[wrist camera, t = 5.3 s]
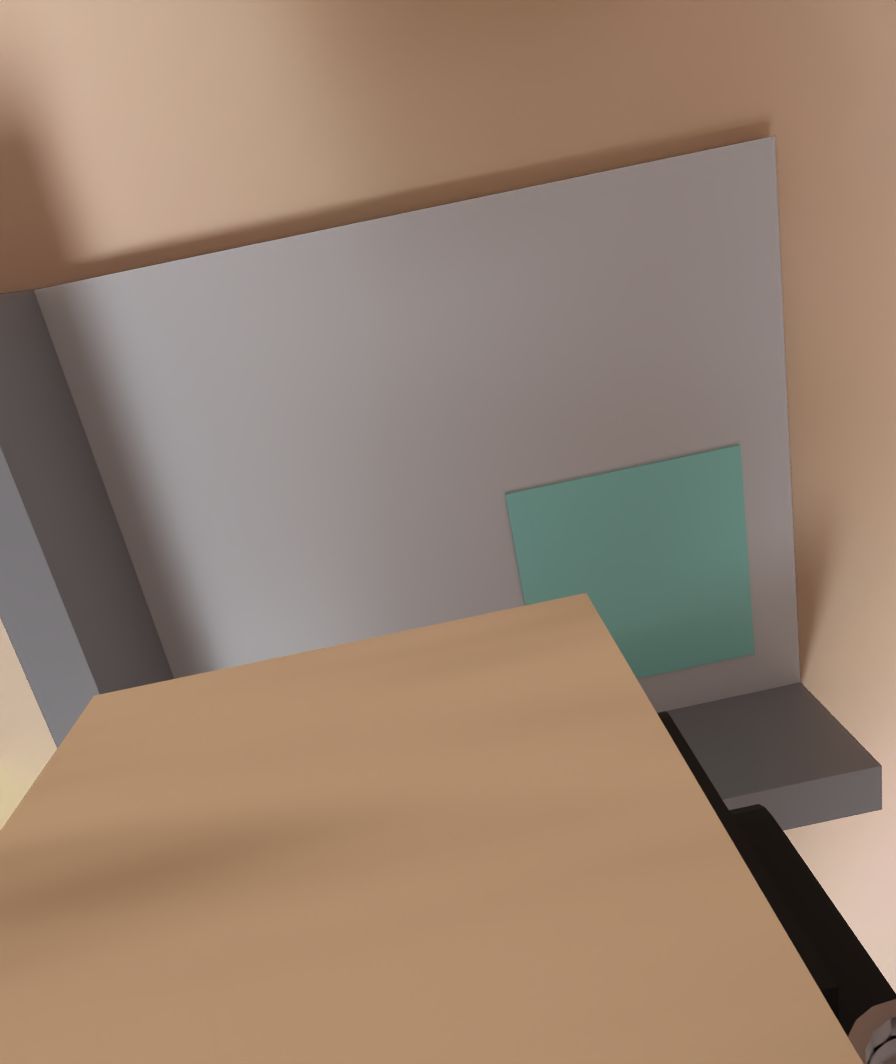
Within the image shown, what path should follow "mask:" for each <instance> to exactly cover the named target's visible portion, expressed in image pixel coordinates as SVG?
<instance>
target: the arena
mask: <svg viewBox="0 0 896 1064" xmlns="http://www.w3.org/2000/svg"><path fill="white" fill-rule="evenodd" d="M583 593H586V594H587V595H588V597H589V599H590V600H591V602H592V604H593V606H594V607H595V609H596V611H597V612H598V614H599V616H600V617H601V619H602V621H603V623H604V624H605V626H606V628H607V629H608V631H609V633H610V634H611V636H612V638H613V639H614V641H615V643H616V645H617V646H618V648H619V650H620V651H621V653H622V655H623V656H624V658H625V660H626V662H627V663H628V665H629V667H630V668H631V670H632V672H633V673H634V675H635V677H636V679H637V680H638V682H639V684H640V685H641V687H642V689H643V690H644V692H645V694H646V695H647V697H648V699H649V701H650V702H651V704H652V706H653V707H654V709H655V711H656V712H657V713H659V712H663V711H666V712H668V714H669V715H670V716H671V718H672V719H673V721H674V723H675V724H676V726H677V727H678V729H679V731H680V732H681V734H682V735H683V737H684V739H685V740H686V742H687V743H688V745H689V747H690V748H691V750H692V752H693V753H694V755H695V756H696V758H697V760H698V761H699V763H700V764H701V766H702V768H703V769H704V771H705V773H706V774H707V776H708V777H709V779H710V781H711V782H712V784H713V785H714V787H715V789H716V790H717V792H718V793H719V795H720V797H721V798H722V800H723V802H724V803H725V805H726V806H727V808H728V810H732V809H737V808H742V807H746V806H751V805H756V804H760V805H762V806H764V807H765V808H766V809H767V810H768V811H769V812H770V814H771V815H772V816H773V817H774V819H775V820H776V822H777V823H778V824H779V826H780V827H781V829H782V830H787V829H792V828H797V827H801V826H806V825H811V824H815V823H820V822H825V821H830V820H834V819H839V818H844V817H848V816H853V815H858V814H862V813H867V812H872V811H876V810H881V809H882V766H881V765H880V764H879V763H878V762H877V761H876V759H875V758H874V757H873V756H872V755H871V754H870V753H869V752H868V751H867V750H866V749H865V748H864V747H863V746H862V745H861V744H860V743H859V742H858V741H857V740H856V739H855V738H854V737H853V736H852V735H851V734H850V733H849V732H848V731H847V730H846V729H845V728H844V727H843V726H842V725H841V724H840V722H839V721H838V720H837V719H836V718H835V717H834V716H833V715H832V714H831V713H830V712H829V711H828V710H827V709H826V708H825V707H824V706H823V705H822V704H821V703H820V702H819V701H818V700H817V699H816V698H815V697H814V696H813V695H812V694H811V693H810V692H809V691H808V690H807V689H806V688H805V687H804V685H803V684H802V683H801V682H800V661H799V640H798V618H797V597H796V575H795V554H794V533H793V511H792V490H791V469H790V447H789V426H788V405H787V383H786V362H785V341H784V319H783V298H782V277H781V255H780V234H779V213H778V191H777V170H776V149H775V136H771V137H766V138H762V139H757V140H752V141H747V142H742V143H738V144H733V145H728V146H723V147H718V148H714V149H709V150H704V151H699V152H694V153H690V154H685V155H680V156H675V157H670V158H666V159H661V160H656V161H651V162H646V163H642V164H637V165H632V166H627V167H622V168H617V169H613V170H608V171H603V172H598V173H593V174H589V175H584V176H579V177H574V178H569V179H565V180H560V181H555V182H550V183H545V184H541V185H536V186H531V187H526V188H521V189H517V190H512V191H507V192H502V193H497V194H493V195H488V196H483V197H478V198H473V199H469V200H464V201H459V202H454V203H449V204H445V205H440V206H435V207H430V208H425V209H421V210H416V211H411V212H406V213H401V214H397V215H392V216H387V217H382V218H377V219H373V220H368V221H363V222H358V223H353V224H349V225H344V226H339V227H334V228H329V229H325V230H320V231H315V232H310V233H305V234H300V235H296V236H291V237H286V238H281V239H276V240H272V241H267V242H262V243H257V244H252V245H248V246H243V247H238V248H233V249H228V250H224V251H219V252H214V253H209V254H204V255H200V256H195V257H190V258H185V259H180V260H176V261H171V262H166V263H161V264H156V265H152V266H147V267H142V268H137V269H132V270H128V271H123V272H118V273H113V274H108V275H104V276H99V277H94V278H89V279H84V280H80V281H75V282H70V283H65V284H60V285H56V286H51V287H46V288H41V289H36V290H29V291H19V292H9V293H0V618H1V620H2V622H3V625H4V627H5V629H6V631H7V634H8V636H9V638H10V641H11V643H12V645H13V648H14V650H15V652H16V654H17V657H18V659H19V661H20V664H21V666H22V668H23V671H24V673H25V675H26V677H27V680H28V682H29V684H30V687H31V689H32V691H33V694H34V696H35V698H36V700H37V703H38V705H39V707H40V710H41V712H42V714H43V716H44V719H45V721H46V723H47V726H48V728H49V730H50V733H51V735H52V737H53V739H54V742H55V744H56V746H57V749H58V747H59V746H60V744H61V743H62V741H63V740H64V738H65V737H66V736H67V734H68V733H69V731H70V730H71V728H72V727H73V725H74V724H75V723H76V721H77V720H78V718H79V717H80V715H81V714H82V712H83V711H84V710H85V708H86V707H87V705H88V704H89V702H90V701H91V699H92V698H93V696H95V695H100V694H105V693H109V692H114V691H119V690H124V689H129V688H133V687H138V686H143V685H148V684H153V683H157V682H162V681H167V680H172V679H176V678H181V677H186V676H191V675H196V674H200V673H205V672H210V671H215V670H220V669H224V668H229V667H234V666H239V665H243V664H248V663H253V662H258V661H263V660H267V659H272V658H277V657H282V656H287V655H291V654H296V653H301V652H306V651H310V650H315V649H320V648H325V647H330V646H334V645H339V644H344V643H349V642H354V641H358V640H363V639H368V638H373V637H378V636H382V635H387V634H392V633H397V632H401V631H406V630H411V629H416V628H421V627H425V626H430V625H435V624H440V623H445V622H449V621H454V620H459V619H464V618H468V617H473V616H478V615H483V614H488V613H492V612H497V611H502V610H507V609H512V608H516V607H521V606H526V605H531V604H535V603H540V602H545V601H550V600H555V599H559V598H564V597H569V596H574V595H579V594H583Z"/></svg>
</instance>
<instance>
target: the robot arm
mask: <svg viewBox="0 0 896 1064" xmlns="http://www.w3.org/2000/svg"><path fill="white" fill-rule="evenodd" d="M657 714H658V716H659V718H660V719H661V721H662V723H663V724H664V726H665V728H666V729H667V731H668V733H669V735H670V736H671V738H672V740H673V741H674V743H675V745H676V746H677V748H678V750H679V752H680V753H681V755H682V757H683V758H684V760H685V762H686V763H687V765H688V767H689V768H690V770H691V772H692V774H693V775H694V777H695V779H696V780H697V782H698V784H699V785H700V787H701V789H702V791H703V792H704V794H705V796H706V797H707V799H708V801H709V802H710V804H711V806H712V808H713V809H714V811H715V813H716V814H717V816H718V818H719V819H720V821H721V823H722V824H723V826H724V828H725V830H726V831H727V833H728V835H729V836H730V838H731V840H732V841H733V843H734V845H735V847H736V848H737V850H738V852H739V853H740V855H741V857H742V858H743V860H744V862H745V864H746V865H747V867H748V869H749V870H750V872H751V874H752V875H753V877H754V879H755V880H756V882H757V884H758V886H759V887H760V889H761V891H762V892H763V894H764V896H765V897H766V899H767V901H768V903H769V904H770V906H771V908H772V909H773V911H774V913H775V914H776V916H777V918H778V920H779V921H780V923H781V925H782V926H783V928H784V930H785V931H786V933H787V935H788V937H789V938H790V940H791V942H792V943H793V945H794V947H795V948H796V950H797V952H798V953H799V955H800V957H801V959H802V960H803V962H804V964H805V965H806V967H807V969H808V970H809V972H810V974H811V976H812V977H813V979H814V981H815V982H816V984H817V986H818V987H819V989H820V991H821V993H822V994H823V996H824V998H825V999H826V1001H827V1003H828V1004H829V1006H830V1008H831V1009H832V1011H833V1013H834V1015H835V1016H836V1018H837V1020H838V1021H839V1023H840V1025H841V1026H842V1028H843V1030H844V1032H845V1033H846V1035H847V1037H848V1038H849V1040H850V1042H851V1043H852V1045H853V1047H854V1049H855V1050H856V1052H857V1054H858V1055H859V1057H860V1059H861V1060H862V1062H863V1064H896V994H895V992H894V991H893V989H892V988H891V986H890V985H889V983H888V982H887V981H886V979H885V978H884V976H883V975H882V973H881V972H880V970H879V969H878V967H877V966H876V965H875V963H874V962H873V960H872V959H871V957H870V956H869V954H868V953H867V952H866V950H865V949H864V947H863V946H862V944H861V943H860V941H859V940H858V939H857V937H856V936H855V934H854V933H853V931H852V930H851V928H850V927H849V926H848V924H847V923H846V921H845V920H844V918H843V917H842V915H841V914H840V913H839V911H838V910H837V908H836V907H835V905H834V904H833V902H832V901H831V900H830V898H829V897H828V895H827V894H826V892H825V891H824V889H823V888H822V887H821V885H820V884H819V882H818V881H817V879H816V878H815V876H814V875H813V874H812V872H811V871H810V869H809V868H808V866H807V865H806V863H805V862H804V861H803V859H802V858H801V856H800V855H799V853H798V852H797V850H796V849H795V848H794V846H793V845H792V843H791V842H790V840H789V839H788V837H787V836H786V835H785V833H784V832H783V830H782V829H781V827H780V826H779V824H778V823H777V822H776V820H775V819H774V817H773V816H772V815H771V814H770V812H769V811H768V810H767V809H766V808H765V807H764V806H762V805H760V804H756V805H751V806H746V807H742V808H737V809H732V810H728V808H727V806H726V805H725V803H724V802H723V800H722V798H721V797H720V795H719V793H718V792H717V790H716V789H715V787H714V785H713V784H712V782H711V781H710V779H709V777H708V776H707V774H706V773H705V771H704V769H703V768H702V766H701V764H700V763H699V761H698V760H697V758H696V756H695V755H694V753H693V752H692V750H691V748H690V747H689V745H688V743H687V742H686V740H685V739H684V737H683V735H682V734H681V732H680V731H679V729H678V727H677V726H676V724H675V723H674V721H673V719H672V718H671V716H670V715H669V714H668V712H666V711H663V712H659V713H657Z"/></svg>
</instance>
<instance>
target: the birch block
mask: <svg viewBox="0 0 896 1064" xmlns="http://www.w3.org/2000/svg"><path fill="white" fill-rule="evenodd" d="M0 1064H863V1062H862V1060H861V1059H860V1057H859V1055H858V1054H857V1052H856V1050H855V1049H854V1047H853V1045H852V1043H851V1042H850V1040H849V1038H848V1037H847V1035H846V1033H845V1032H844V1030H843V1028H842V1026H841V1025H840V1023H839V1021H838V1020H837V1018H836V1016H835V1015H834V1013H833V1011H832V1009H831V1008H830V1006H829V1004H828V1003H827V1001H826V999H825V998H824V996H823V994H822V993H821V991H820V989H819V987H818V986H817V984H816V982H815V981H814V979H813V977H812V976H811V974H810V972H809V970H808V969H807V967H806V965H805V964H804V962H803V960H802V959H801V957H800V955H799V953H798V952H797V950H796V948H795V947H794V945H793V943H792V942H791V940H790V938H789V937H788V935H787V933H786V931H785V930H784V928H783V926H782V925H781V923H780V921H779V920H778V918H777V916H776V914H775V913H774V911H773V909H772V908H771V906H770V904H769V903H768V901H767V899H766V897H765V896H764V894H763V892H762V891H761V889H760V887H759V886H758V884H757V882H756V880H755V879H754V877H753V875H752V874H751V872H750V870H749V869H748V867H747V865H746V864H745V862H744V860H743V858H742V857H741V855H740V853H739V852H738V850H737V848H736V847H735V845H734V843H733V841H732V840H731V838H730V836H729V835H728V833H727V831H726V830H725V828H724V826H723V824H722V823H721V821H720V819H719V818H718V816H717V814H716V813H715V811H714V809H713V808H712V806H711V804H710V802H709V801H708V799H707V797H706V796H705V794H704V792H703V791H702V789H701V787H700V785H699V784H698V782H697V780H696V779H695V777H694V775H693V774H692V772H691V770H690V768H689V767H688V765H687V763H686V762H685V760H684V758H683V757H682V755H681V753H680V752H679V750H678V748H677V746H676V745H675V743H674V741H673V740H672V738H671V736H670V735H669V733H668V731H667V729H666V728H665V726H664V724H663V723H662V721H661V719H660V718H659V716H658V714H657V712H656V711H655V709H654V707H653V706H652V704H651V702H650V701H649V699H648V697H647V695H646V694H645V692H644V690H643V689H642V687H641V685H640V684H639V682H638V680H637V679H636V677H635V675H634V673H633V672H632V670H631V668H630V667H629V665H628V663H627V662H626V660H625V658H624V656H623V655H622V653H621V651H620V650H619V648H618V646H617V645H616V643H615V641H614V639H613V638H612V636H611V634H610V633H609V631H608V629H607V628H606V626H605V624H604V623H603V621H602V619H601V617H600V616H599V614H598V612H597V611H596V609H595V607H594V606H593V604H592V602H591V600H590V599H589V597H588V595H587V594H586V593H583V594H579V595H574V596H569V597H564V598H559V599H555V600H550V601H545V602H540V603H535V604H531V605H526V606H521V607H516V608H512V609H507V610H502V611H497V612H492V613H488V614H483V615H478V616H473V617H468V618H464V619H459V620H454V621H449V622H445V623H440V624H435V625H430V626H425V627H421V628H416V629H411V630H406V631H401V632H397V633H392V634H387V635H382V636H378V637H373V638H368V639H363V640H358V641H354V642H349V643H344V644H339V645H334V646H330V647H325V648H320V649H315V650H310V651H306V652H301V653H296V654H291V655H287V656H282V657H277V658H272V659H267V660H263V661H258V662H253V663H248V664H243V665H239V666H234V667H229V668H224V669H220V670H215V671H210V672H205V673H200V674H196V675H191V676H186V677H181V678H176V679H172V680H167V681H162V682H157V683H153V684H148V685H143V686H138V687H133V688H129V689H124V690H119V691H114V692H109V693H105V694H100V695H95V696H93V698H92V699H91V701H90V702H89V704H88V705H87V707H86V708H85V710H84V711H83V712H82V714H81V715H80V717H79V718H78V720H77V721H76V723H75V724H74V725H73V727H72V728H71V730H70V731H69V733H68V734H67V736H66V737H65V738H64V740H63V741H62V743H61V744H60V746H59V747H58V749H57V750H56V751H55V753H54V754H53V756H52V757H51V759H50V760H49V762H48V763H47V764H46V766H45V767H44V769H43V770H42V772H41V773H40V775H39V776H38V777H37V779H36V780H35V782H34V783H33V785H32V786H31V788H30V789H29V790H28V792H27V793H26V795H25V796H24V798H23V799H22V801H21V802H20V803H19V805H18V806H17V808H16V809H15V811H14V812H13V814H12V815H11V817H10V818H9V819H8V821H7V822H6V824H5V825H4V827H3V828H2V830H1V831H0Z"/></svg>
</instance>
